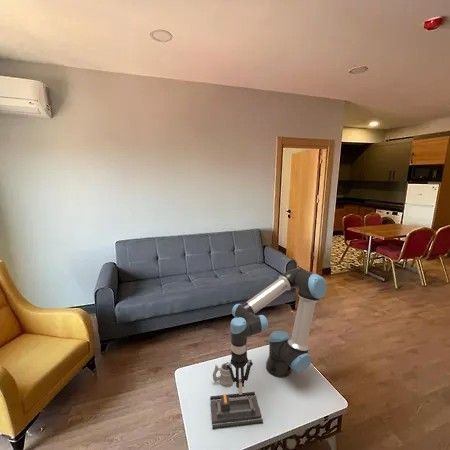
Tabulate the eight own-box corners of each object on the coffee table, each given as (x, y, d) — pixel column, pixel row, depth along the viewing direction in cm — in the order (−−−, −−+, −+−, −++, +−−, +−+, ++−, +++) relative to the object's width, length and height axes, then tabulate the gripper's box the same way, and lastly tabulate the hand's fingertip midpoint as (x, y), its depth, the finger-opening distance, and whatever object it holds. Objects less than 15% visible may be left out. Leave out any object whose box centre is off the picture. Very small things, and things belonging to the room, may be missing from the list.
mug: (234, 386, 146) (234, 367, 144) (213, 389, 143) (213, 370, 141) (231, 376, 153) (231, 357, 151) (211, 379, 151) (211, 360, 149)
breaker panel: (255, 398, 137) (255, 393, 137) (261, 418, 126) (261, 413, 125) (210, 403, 135) (210, 397, 134) (212, 424, 123) (212, 418, 122)
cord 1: (254, 393, 140) (254, 391, 140) (254, 395, 139) (255, 393, 139) (210, 398, 138) (210, 396, 137) (210, 400, 136) (210, 398, 136)
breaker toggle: (228, 404, 132) (228, 393, 131) (229, 412, 127) (229, 402, 126) (220, 405, 131) (220, 394, 130) (221, 413, 127) (221, 403, 126)
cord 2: (262, 421, 124) (262, 419, 124) (263, 423, 123) (263, 421, 123) (212, 427, 121) (212, 424, 121) (212, 429, 120) (212, 427, 120)
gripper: (250, 343, 129) (251, 384, 133) (224, 346, 128) (226, 388, 132) (254, 353, 122) (254, 396, 126) (226, 356, 120) (228, 400, 125)
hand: (240, 392), depth 129 cm, fingers closed
